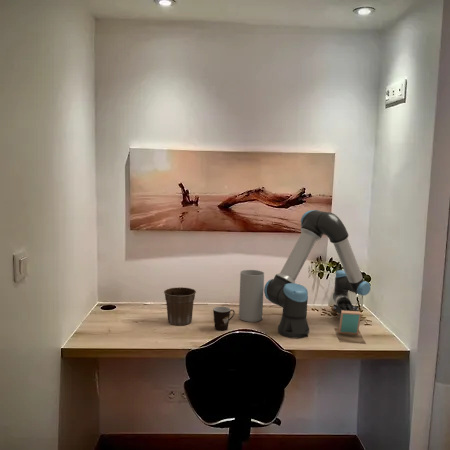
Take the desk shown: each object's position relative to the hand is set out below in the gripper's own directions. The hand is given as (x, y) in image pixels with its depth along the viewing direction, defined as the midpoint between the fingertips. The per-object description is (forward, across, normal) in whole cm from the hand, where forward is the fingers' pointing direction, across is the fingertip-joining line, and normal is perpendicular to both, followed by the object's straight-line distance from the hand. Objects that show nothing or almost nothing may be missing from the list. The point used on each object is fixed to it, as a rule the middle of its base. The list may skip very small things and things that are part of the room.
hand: (351, 318), depth 220 cm
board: (+3, +1, -9) cm, 9 cm away
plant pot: (-4, +86, -9) cm, 86 cm away
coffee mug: (+2, +62, -9) cm, 62 cm away
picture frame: (0, +1, -7) cm, 7 cm away
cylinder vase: (-16, +49, -9) cm, 53 cm away
